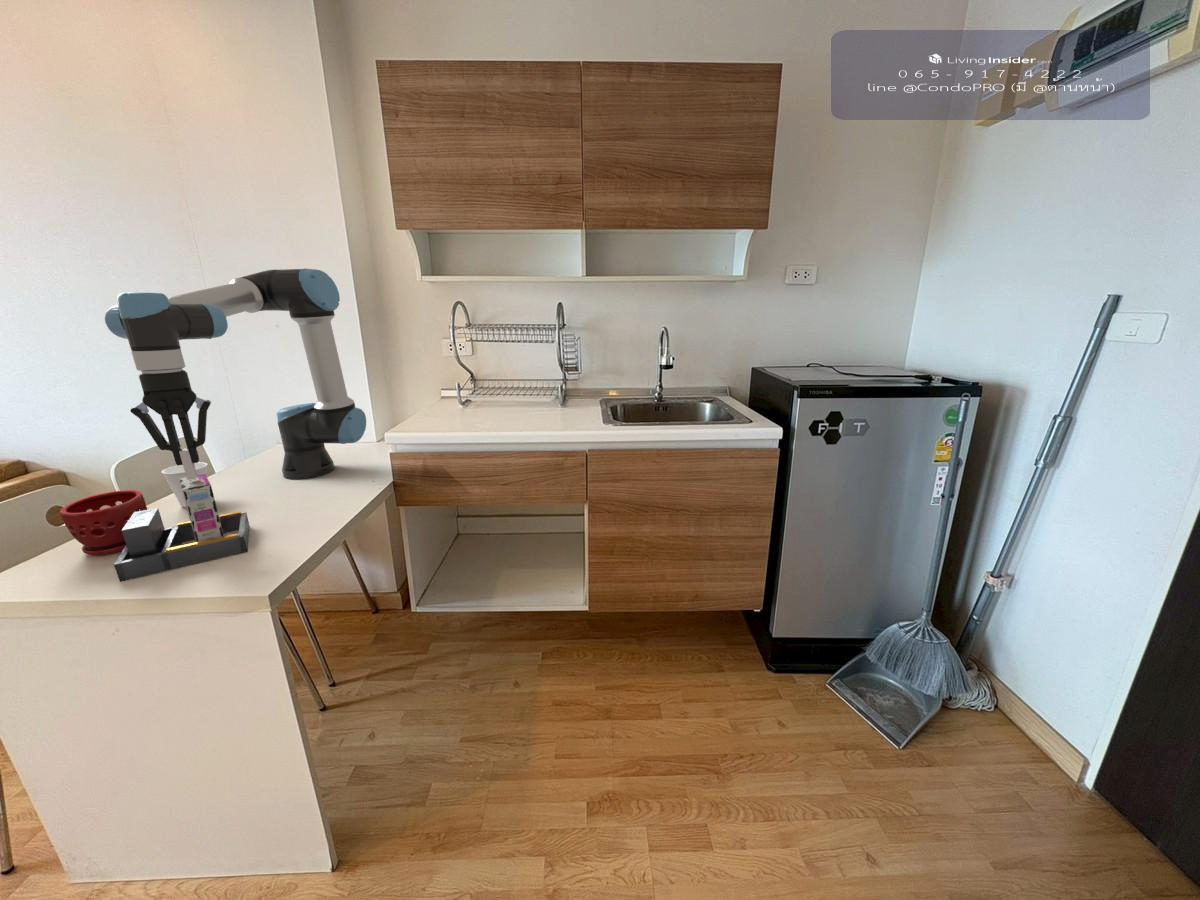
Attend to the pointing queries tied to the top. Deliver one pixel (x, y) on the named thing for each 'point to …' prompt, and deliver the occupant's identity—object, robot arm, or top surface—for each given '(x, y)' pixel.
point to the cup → (178, 472)
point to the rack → (175, 544)
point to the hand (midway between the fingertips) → (192, 477)
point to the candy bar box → (201, 508)
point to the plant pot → (102, 520)
